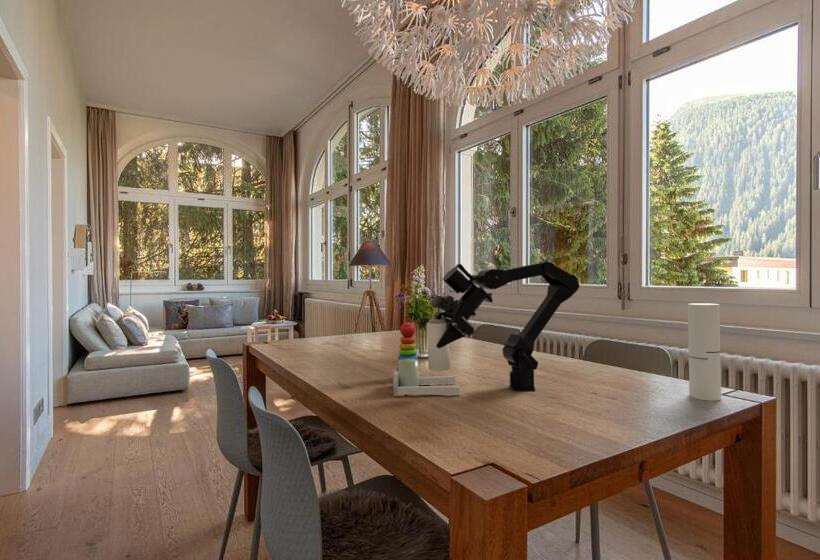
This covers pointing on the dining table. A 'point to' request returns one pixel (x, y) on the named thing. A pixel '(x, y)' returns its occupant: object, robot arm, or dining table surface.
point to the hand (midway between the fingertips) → (433, 345)
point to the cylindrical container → (704, 351)
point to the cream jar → (436, 355)
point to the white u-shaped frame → (427, 389)
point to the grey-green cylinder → (408, 372)
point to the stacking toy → (407, 343)
